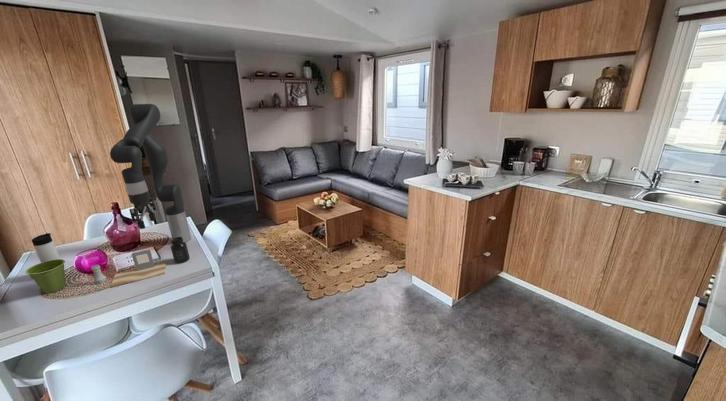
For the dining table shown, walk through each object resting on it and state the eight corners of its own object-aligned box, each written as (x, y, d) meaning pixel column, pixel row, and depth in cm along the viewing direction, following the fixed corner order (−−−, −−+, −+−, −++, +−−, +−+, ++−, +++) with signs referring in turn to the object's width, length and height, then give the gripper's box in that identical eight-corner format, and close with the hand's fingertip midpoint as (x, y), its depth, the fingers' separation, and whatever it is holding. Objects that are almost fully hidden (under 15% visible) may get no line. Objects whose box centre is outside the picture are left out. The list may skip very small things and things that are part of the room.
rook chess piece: (99, 279, 136) (93, 263, 133) (109, 278, 136) (104, 263, 133) (91, 284, 132) (85, 269, 129) (102, 284, 132) (96, 268, 129)
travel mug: (69, 271, 143) (54, 233, 136) (52, 278, 137) (35, 240, 131) (61, 269, 145) (45, 232, 138) (44, 276, 139) (27, 238, 133)
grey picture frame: (137, 269, 141) (131, 252, 138) (154, 265, 145) (149, 248, 142) (136, 271, 140) (131, 254, 137) (154, 266, 143) (149, 250, 140)
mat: (115, 274, 139) (115, 273, 138) (166, 262, 148) (165, 261, 148) (110, 288, 129) (110, 286, 128) (164, 274, 138) (164, 272, 138)
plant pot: (40, 300, 122) (29, 276, 118) (32, 291, 128) (21, 269, 124) (77, 285, 131) (68, 263, 128) (68, 277, 137) (59, 256, 134)
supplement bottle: (193, 256, 153) (187, 235, 149) (184, 263, 146) (178, 242, 142) (180, 256, 153) (175, 235, 149) (171, 263, 147) (165, 241, 143)
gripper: (138, 186, 137) (148, 218, 143) (118, 197, 124) (129, 231, 130) (155, 186, 138) (164, 217, 144) (136, 196, 125) (147, 230, 130)
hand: (148, 224), depth 137 cm, fingers open, 8 cm apart
